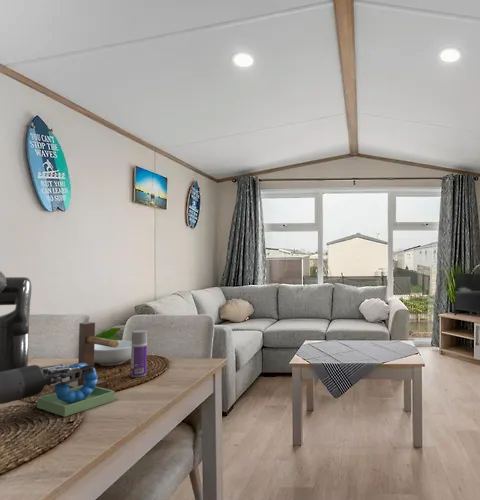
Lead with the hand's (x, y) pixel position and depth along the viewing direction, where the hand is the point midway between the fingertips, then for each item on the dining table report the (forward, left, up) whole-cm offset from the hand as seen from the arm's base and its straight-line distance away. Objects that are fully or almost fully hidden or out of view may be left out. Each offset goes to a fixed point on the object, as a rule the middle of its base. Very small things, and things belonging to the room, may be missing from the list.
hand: (87, 367), depth 111 cm
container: (-9, +22, -10) cm, 26 cm away
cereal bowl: (-31, +27, -10) cm, 42 cm away
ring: (0, -3, -4) cm, 5 cm away
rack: (-7, +6, -9) cm, 13 cm away
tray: (0, -3, -9) cm, 10 cm away
